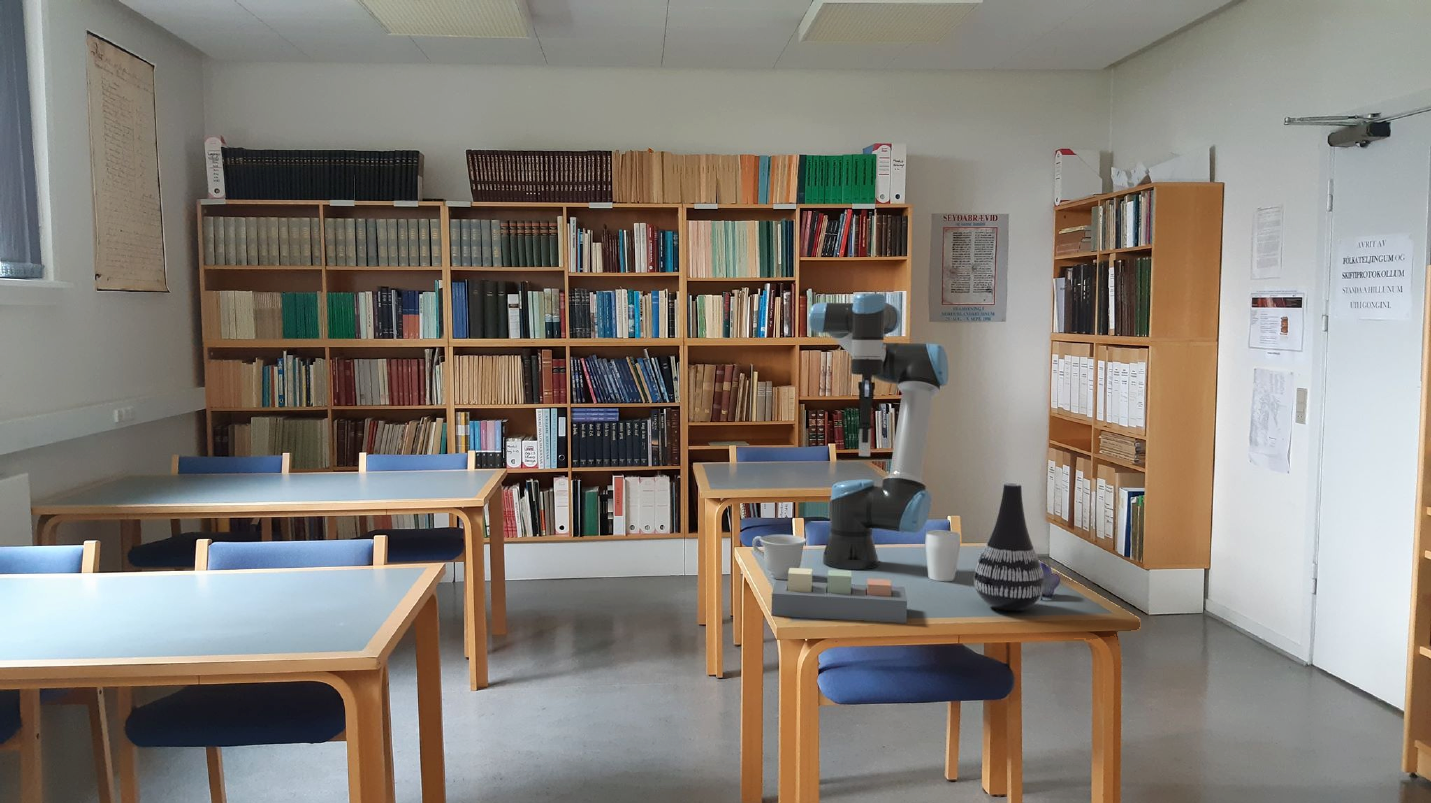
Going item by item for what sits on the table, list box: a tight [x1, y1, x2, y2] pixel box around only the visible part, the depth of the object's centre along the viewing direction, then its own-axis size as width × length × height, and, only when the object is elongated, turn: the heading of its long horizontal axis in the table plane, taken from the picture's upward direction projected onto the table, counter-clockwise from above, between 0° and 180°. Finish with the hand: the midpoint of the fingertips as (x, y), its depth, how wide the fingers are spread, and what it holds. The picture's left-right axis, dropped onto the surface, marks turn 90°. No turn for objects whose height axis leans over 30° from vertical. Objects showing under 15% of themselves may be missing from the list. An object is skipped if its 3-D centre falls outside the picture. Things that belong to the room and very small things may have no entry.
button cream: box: [787, 567, 813, 592], centre depth 226 cm, size 5×5×6 cm
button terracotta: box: [866, 578, 892, 597], centre depth 224 cm, size 5×5×6 cm
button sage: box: [827, 569, 852, 594], centre depth 225 cm, size 5×5×6 cm
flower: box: [1039, 560, 1061, 601], centre depth 242 cm, size 9×9×10 cm
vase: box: [973, 482, 1044, 614], centre depth 229 cm, size 16×16×30 cm
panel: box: [770, 579, 908, 624], centre depth 225 cm, size 30×12×5 cm, turn 82°
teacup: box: [752, 534, 807, 581], centre depth 257 cm, size 12×15×10 cm
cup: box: [924, 529, 961, 582], centre depth 258 cm, size 9×9×12 cm
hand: (864, 455), depth 237 cm, fingers closed
